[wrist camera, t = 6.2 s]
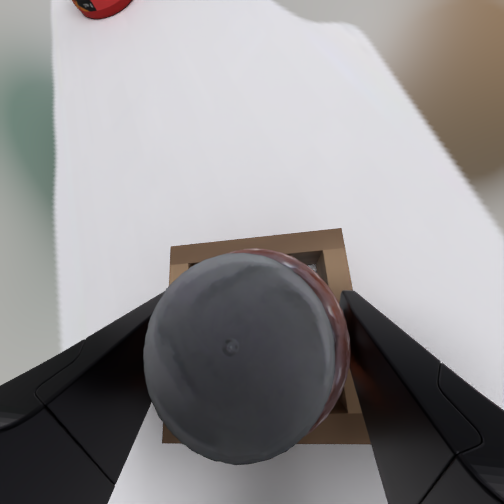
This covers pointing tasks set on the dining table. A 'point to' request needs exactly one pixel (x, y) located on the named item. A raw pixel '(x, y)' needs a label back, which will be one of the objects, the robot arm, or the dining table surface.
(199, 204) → the dining table surface
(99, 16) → the canned food
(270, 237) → the walnut socket holder
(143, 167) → the dining table surface
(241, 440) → the supplement bottle
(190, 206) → the dining table surface
